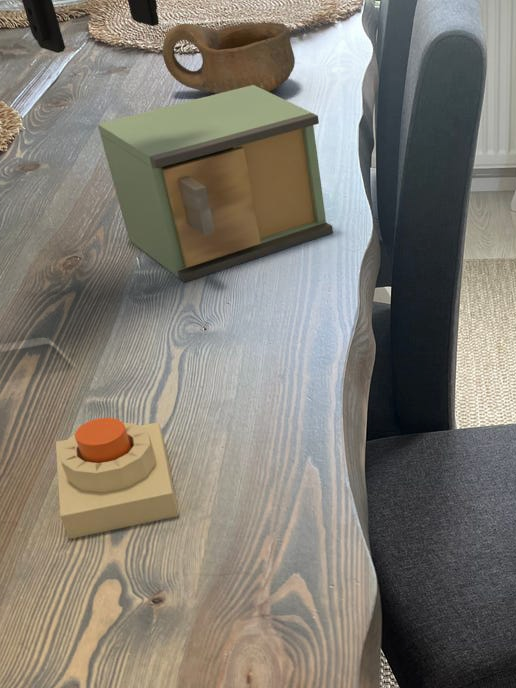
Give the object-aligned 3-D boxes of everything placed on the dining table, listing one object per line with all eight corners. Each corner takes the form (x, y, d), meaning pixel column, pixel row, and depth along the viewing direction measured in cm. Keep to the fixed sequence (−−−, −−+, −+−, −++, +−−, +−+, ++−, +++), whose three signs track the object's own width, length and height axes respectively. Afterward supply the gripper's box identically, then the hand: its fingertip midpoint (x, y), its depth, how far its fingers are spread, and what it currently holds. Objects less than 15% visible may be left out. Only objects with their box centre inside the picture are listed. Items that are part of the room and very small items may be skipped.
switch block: (179, 516, 75) (166, 472, 72) (69, 539, 74) (51, 495, 71) (165, 444, 82) (152, 402, 79) (64, 464, 80) (47, 421, 78)
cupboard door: (203, 279, 100) (180, 180, 93) (184, 265, 103) (161, 168, 96) (278, 254, 104) (261, 157, 97) (258, 241, 106) (241, 146, 99)
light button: (133, 459, 74) (126, 439, 73) (83, 469, 74) (75, 449, 72) (129, 433, 77) (122, 413, 76) (80, 442, 76) (73, 422, 75)
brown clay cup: (178, 109, 136) (157, 23, 131) (174, 109, 147) (155, 30, 142) (307, 91, 139) (292, 6, 134) (293, 92, 151) (279, 14, 146)
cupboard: (184, 282, 103) (154, 160, 94) (129, 240, 110) (97, 123, 101) (333, 232, 110) (318, 115, 102) (272, 196, 118) (253, 84, 109)
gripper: (102, -233, 82) (155, 7, 94) (-98, -210, 73) (-12, 52, 85) (158, -229, 79) (205, 20, 91) (-46, -205, 70) (37, 68, 82)
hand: (100, 35), depth 88 cm, fingers open, 9 cm apart
